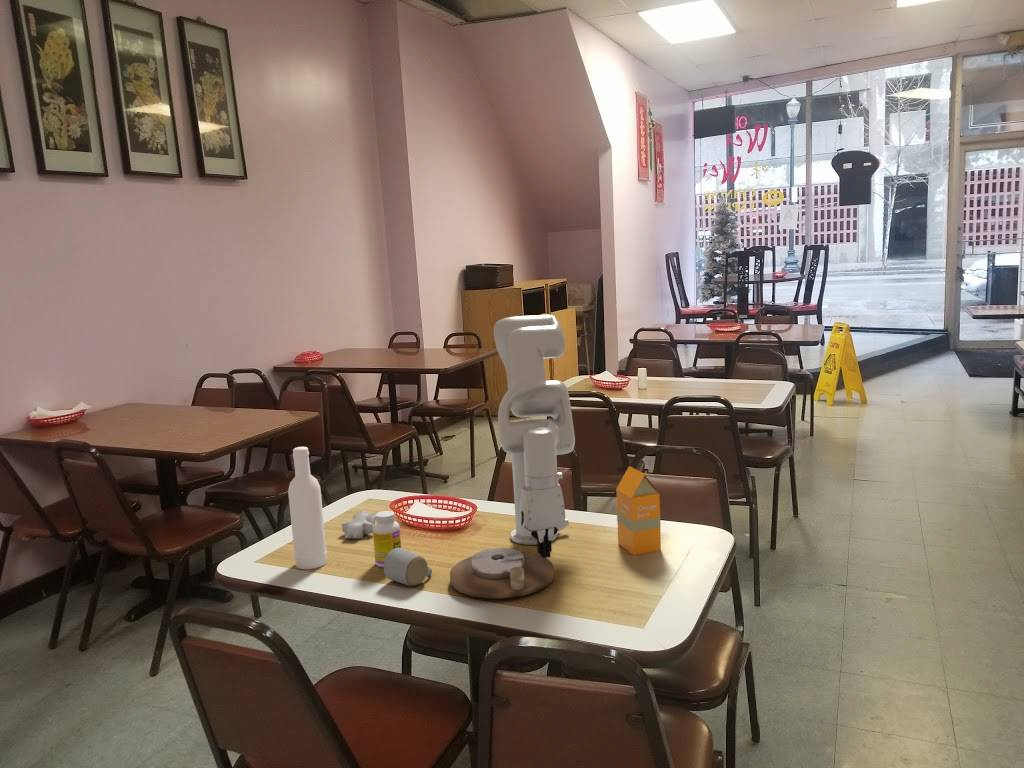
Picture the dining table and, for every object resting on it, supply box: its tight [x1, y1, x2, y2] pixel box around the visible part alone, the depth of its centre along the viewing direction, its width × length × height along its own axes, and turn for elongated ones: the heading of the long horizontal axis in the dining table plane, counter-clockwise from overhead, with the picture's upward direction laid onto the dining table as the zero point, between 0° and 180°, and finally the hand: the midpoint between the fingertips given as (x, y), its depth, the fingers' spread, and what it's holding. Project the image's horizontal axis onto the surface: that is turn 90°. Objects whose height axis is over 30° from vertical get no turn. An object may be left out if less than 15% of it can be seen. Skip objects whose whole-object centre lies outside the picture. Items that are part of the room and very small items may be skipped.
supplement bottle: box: [372, 510, 402, 568], centre depth 192 cm, size 7×7×13 cm
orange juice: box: [615, 465, 662, 556], centre depth 194 cm, size 8×9×20 cm
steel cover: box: [471, 547, 524, 580], centre depth 179 cm, size 12×12×3 cm
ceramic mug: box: [383, 547, 433, 587], centre depth 181 cm, size 11×8×8 cm
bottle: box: [287, 446, 328, 570], centre depth 193 cm, size 8×8×30 cm
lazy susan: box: [449, 550, 555, 600], centre depth 178 cm, size 24×24×6 cm
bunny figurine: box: [341, 510, 383, 540], centre depth 217 cm, size 10×5×15 cm
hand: (544, 555), depth 182 cm, fingers closed
